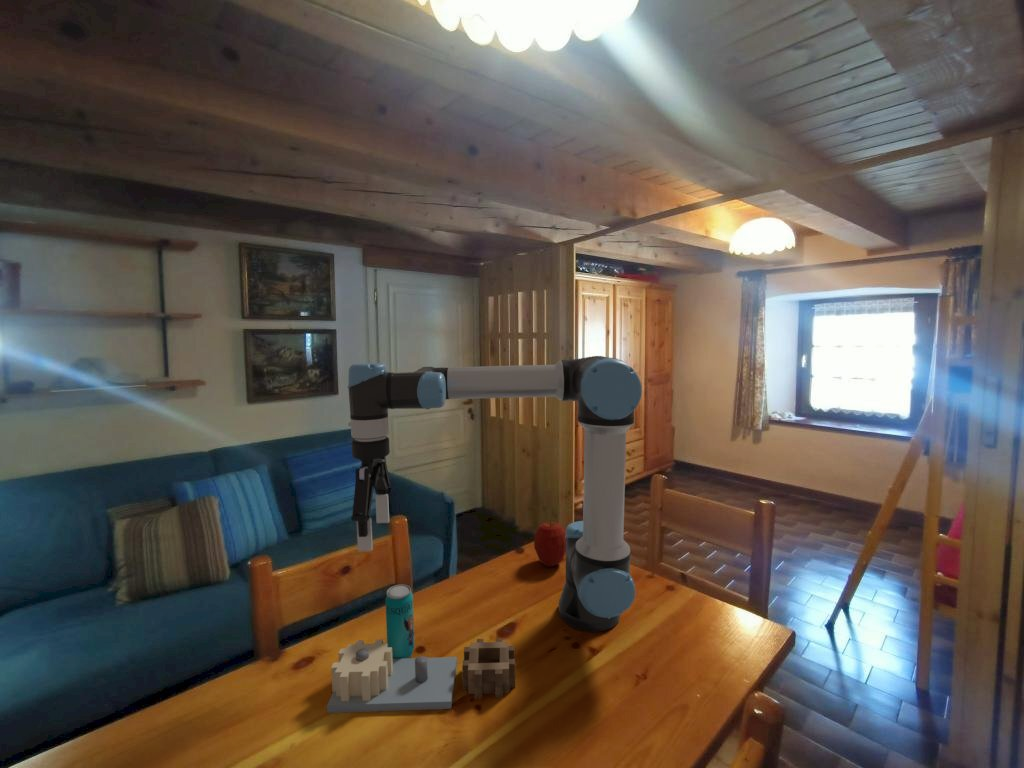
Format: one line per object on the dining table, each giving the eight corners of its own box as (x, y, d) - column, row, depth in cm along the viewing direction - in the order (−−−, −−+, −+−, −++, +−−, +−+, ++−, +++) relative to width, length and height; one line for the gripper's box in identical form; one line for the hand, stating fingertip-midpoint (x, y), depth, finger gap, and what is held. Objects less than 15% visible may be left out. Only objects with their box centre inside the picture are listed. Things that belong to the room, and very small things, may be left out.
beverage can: (408, 666, 98) (405, 599, 96) (383, 662, 99) (380, 596, 97) (418, 648, 103) (416, 584, 102) (395, 645, 104) (392, 582, 103)
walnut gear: (514, 659, 99) (513, 637, 99) (515, 697, 89) (515, 673, 88) (465, 660, 99) (465, 639, 99) (461, 698, 89) (461, 674, 88)
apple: (571, 570, 136) (571, 525, 135) (538, 573, 135) (538, 528, 133) (562, 554, 147) (562, 512, 145) (531, 557, 145) (530, 514, 143)
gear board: (457, 663, 98) (456, 630, 98) (451, 708, 86) (450, 671, 86) (347, 666, 98) (345, 633, 97) (326, 712, 86) (324, 675, 85)
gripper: (369, 425, 108) (373, 513, 110) (329, 453, 83) (336, 564, 85) (401, 425, 108) (404, 512, 110) (371, 452, 83) (376, 563, 86)
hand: (374, 535), depth 98 cm, fingers open, 13 cm apart
